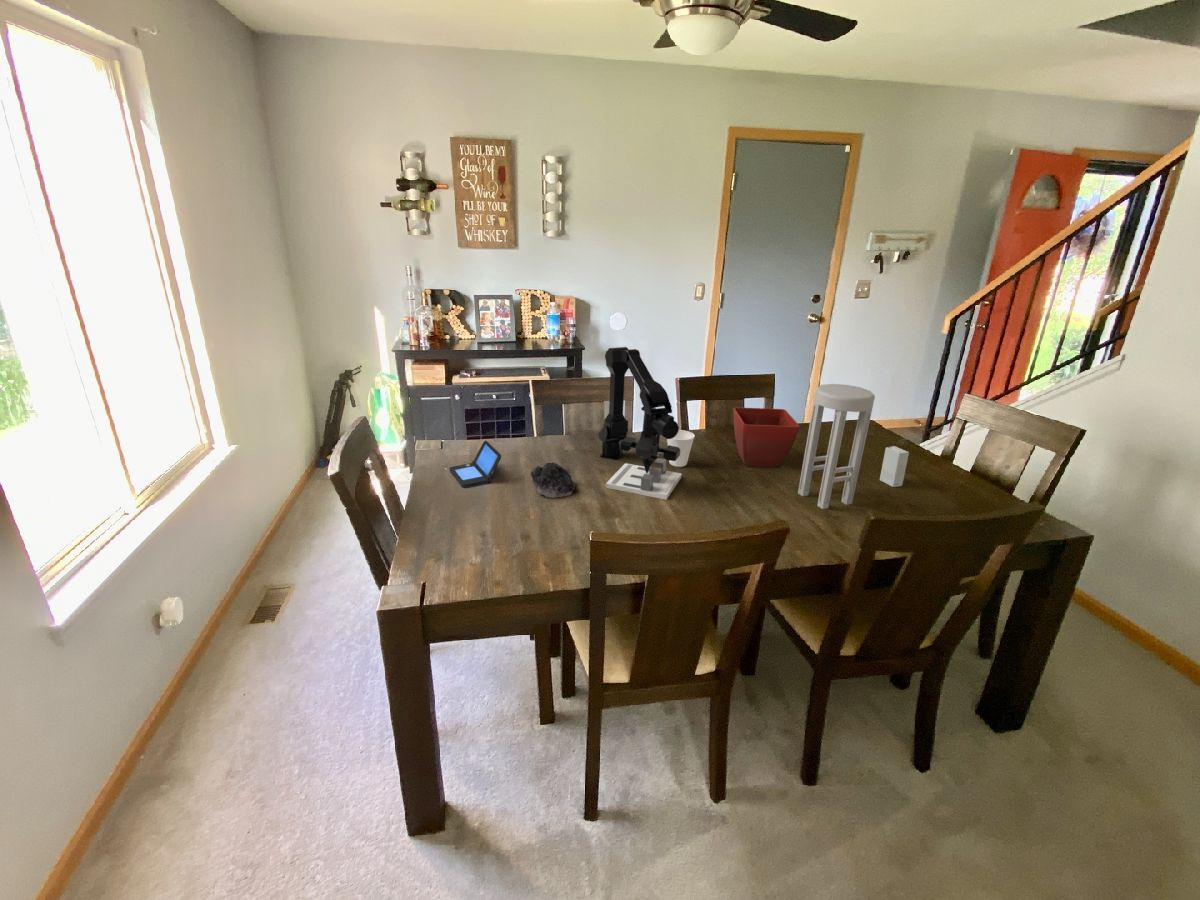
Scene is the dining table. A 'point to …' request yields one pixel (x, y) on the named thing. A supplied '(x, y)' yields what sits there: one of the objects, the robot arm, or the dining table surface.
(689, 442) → the cup
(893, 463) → the skincare box
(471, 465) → the handheld game console
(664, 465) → the block
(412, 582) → the dining table surface
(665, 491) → the panel
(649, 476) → the block
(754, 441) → the plant pot
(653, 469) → the block
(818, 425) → the stool
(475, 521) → the dining table surface
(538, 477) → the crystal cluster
